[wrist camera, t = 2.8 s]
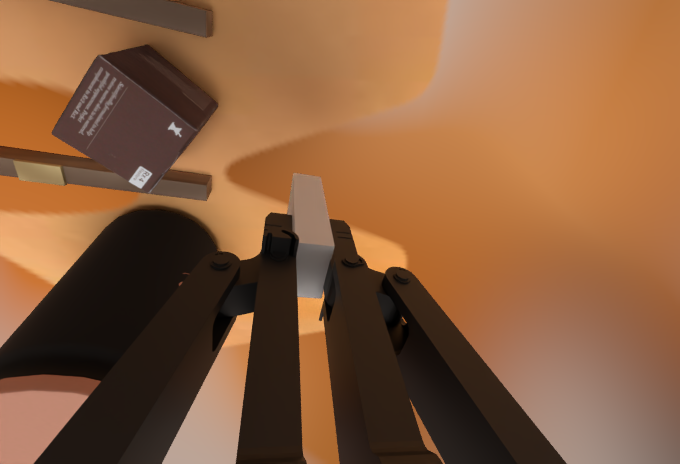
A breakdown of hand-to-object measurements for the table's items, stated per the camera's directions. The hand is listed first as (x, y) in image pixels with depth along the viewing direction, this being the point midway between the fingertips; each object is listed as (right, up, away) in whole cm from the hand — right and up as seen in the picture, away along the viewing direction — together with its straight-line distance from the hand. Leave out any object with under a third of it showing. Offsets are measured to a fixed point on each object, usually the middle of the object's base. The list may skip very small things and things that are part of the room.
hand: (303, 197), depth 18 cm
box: (-12, +8, +7) cm, 16 cm away
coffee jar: (-16, -4, +15) cm, 22 cm away
